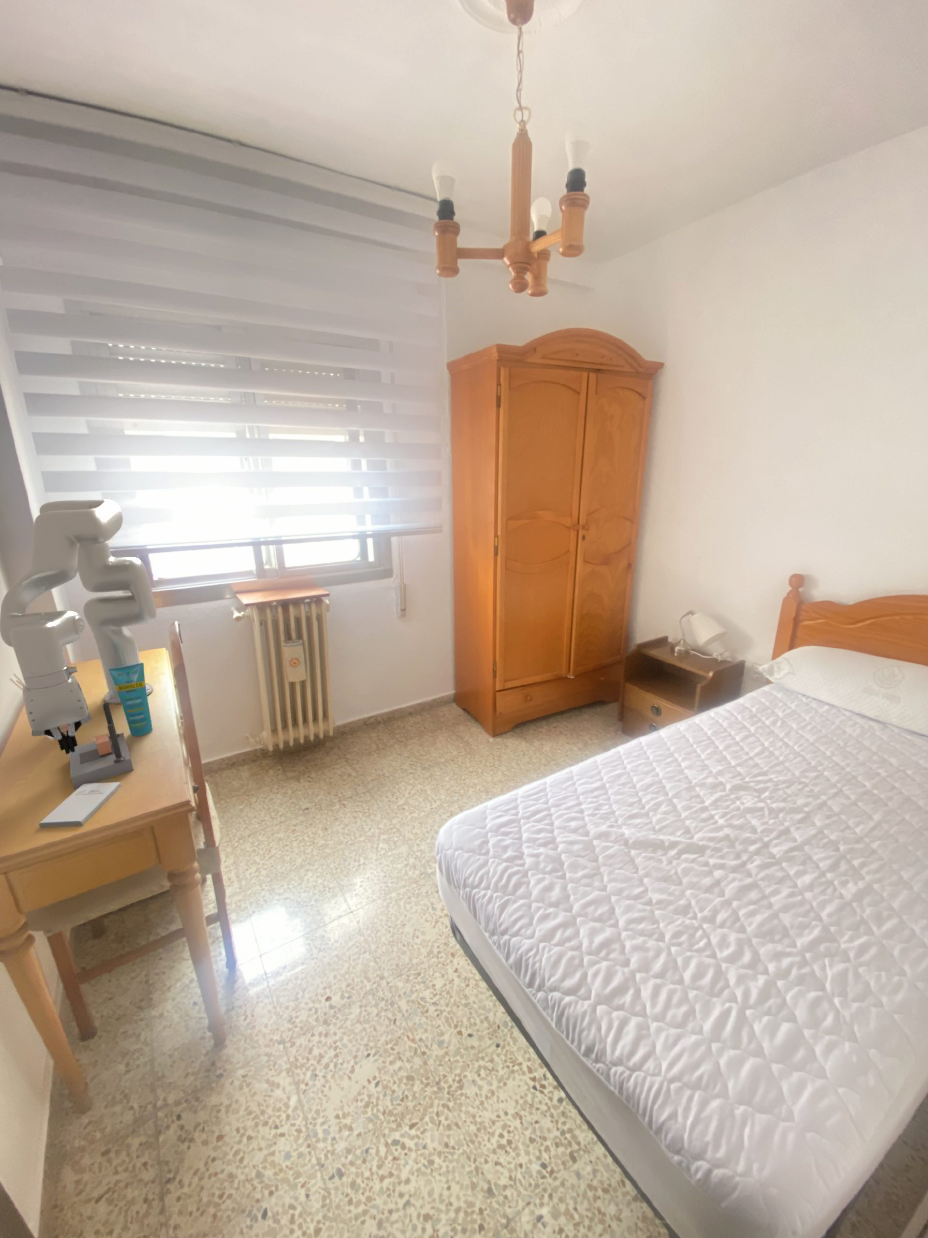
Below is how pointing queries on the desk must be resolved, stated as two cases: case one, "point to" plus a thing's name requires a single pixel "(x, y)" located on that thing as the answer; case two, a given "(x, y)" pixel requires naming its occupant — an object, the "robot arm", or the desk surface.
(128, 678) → the tube
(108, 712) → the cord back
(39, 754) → the desk surface
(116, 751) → the cord front
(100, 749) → the block
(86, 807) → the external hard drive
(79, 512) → the robot arm
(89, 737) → the desk surface
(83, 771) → the grey switch base
